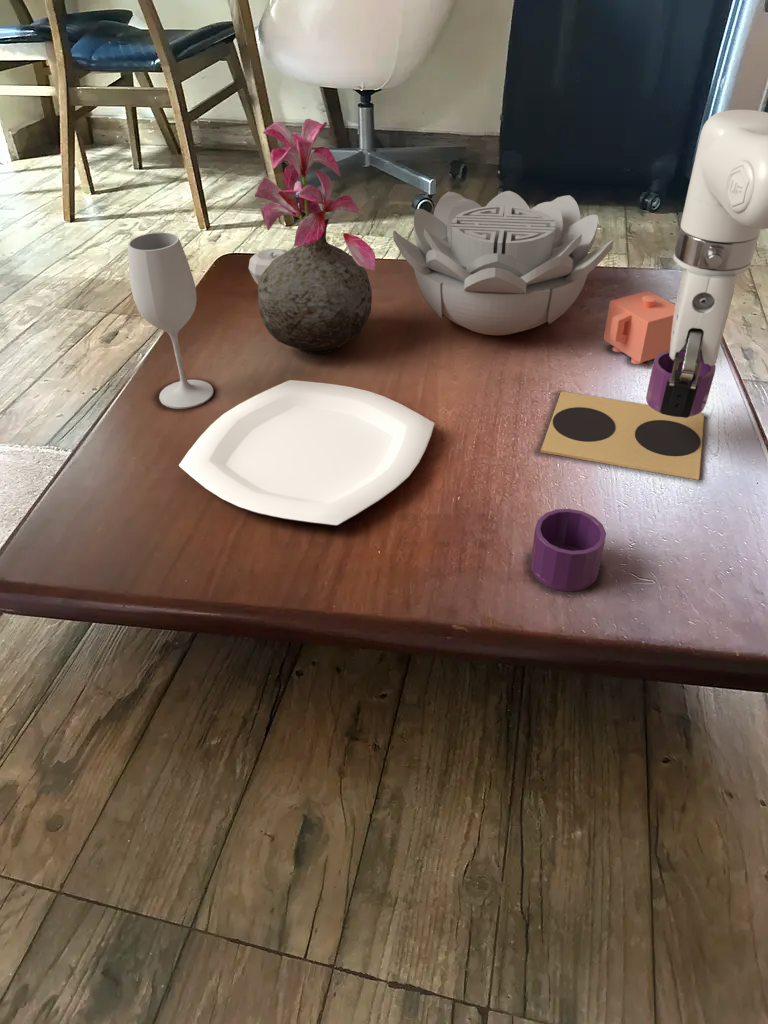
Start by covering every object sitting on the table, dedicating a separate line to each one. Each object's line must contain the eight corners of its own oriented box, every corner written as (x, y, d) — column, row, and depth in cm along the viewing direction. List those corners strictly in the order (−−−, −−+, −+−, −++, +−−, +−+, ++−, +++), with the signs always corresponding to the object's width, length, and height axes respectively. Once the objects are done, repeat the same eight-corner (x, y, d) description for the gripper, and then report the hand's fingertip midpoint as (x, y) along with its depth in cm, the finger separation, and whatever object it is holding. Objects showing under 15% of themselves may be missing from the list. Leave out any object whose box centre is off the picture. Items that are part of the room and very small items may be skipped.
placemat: (703, 415, 99) (704, 412, 98) (698, 480, 89) (699, 476, 88) (560, 393, 104) (561, 390, 103) (540, 452, 93) (541, 449, 93)
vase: (276, 316, 123) (250, 108, 104) (386, 318, 122) (380, 107, 103) (252, 369, 111) (218, 143, 91) (375, 373, 109) (366, 143, 90)
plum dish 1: (602, 553, 80) (609, 516, 76) (593, 598, 75) (600, 560, 72) (537, 540, 81) (542, 503, 78) (524, 583, 77) (529, 545, 73)
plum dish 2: (705, 392, 93) (716, 354, 90) (703, 421, 88) (714, 382, 85) (648, 383, 95) (656, 346, 91) (643, 412, 90) (651, 373, 87)
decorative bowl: (381, 363, 111) (378, 260, 101) (413, 278, 134) (412, 187, 124) (599, 377, 106) (618, 271, 97) (594, 286, 129) (608, 193, 119)
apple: (241, 292, 131) (236, 254, 127) (275, 276, 135) (271, 239, 131) (275, 304, 127) (270, 265, 123) (309, 288, 131) (305, 250, 127)
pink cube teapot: (693, 352, 111) (707, 298, 106) (626, 373, 107) (637, 317, 102) (655, 330, 117) (667, 277, 111) (590, 349, 113) (599, 295, 107)
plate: (461, 430, 97) (462, 417, 96) (344, 560, 80) (343, 546, 79) (287, 379, 108) (285, 366, 107) (150, 483, 91) (146, 469, 89)
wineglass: (221, 381, 108) (193, 230, 95) (206, 410, 103) (174, 254, 89) (168, 379, 109) (133, 229, 96) (150, 408, 103) (111, 253, 90)
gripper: (754, 286, 72) (707, 444, 84) (753, 221, 85) (712, 367, 96) (670, 276, 74) (635, 432, 86) (681, 214, 87) (649, 358, 98)
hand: (676, 396), depth 91 cm, fingers closed on plum dish 2, 6 cm apart
